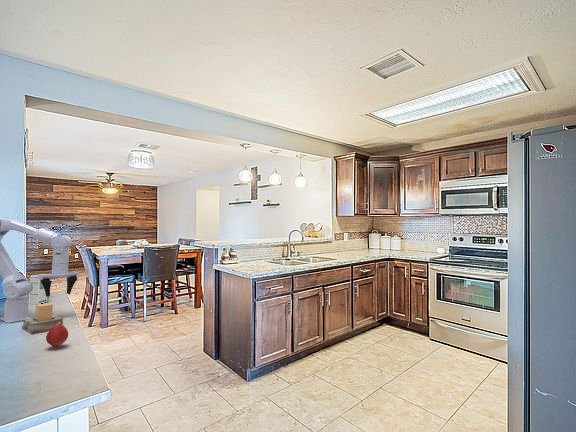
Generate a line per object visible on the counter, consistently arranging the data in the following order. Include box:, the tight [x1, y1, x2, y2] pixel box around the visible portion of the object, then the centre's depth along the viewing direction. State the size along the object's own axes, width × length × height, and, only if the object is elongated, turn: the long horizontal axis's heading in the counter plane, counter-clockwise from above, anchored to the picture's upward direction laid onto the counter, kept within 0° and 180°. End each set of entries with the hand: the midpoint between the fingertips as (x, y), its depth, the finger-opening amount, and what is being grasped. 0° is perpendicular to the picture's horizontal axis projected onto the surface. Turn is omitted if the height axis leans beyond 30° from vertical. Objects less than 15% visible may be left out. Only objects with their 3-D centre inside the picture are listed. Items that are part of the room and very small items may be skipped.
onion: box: [45, 322, 69, 348], centre depth 103 cm, size 6×6×8 cm
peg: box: [34, 302, 54, 322], centre depth 122 cm, size 4×4×8 cm
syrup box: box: [29, 273, 50, 305], centre depth 162 cm, size 6×6×14 cm
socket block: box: [21, 314, 65, 335], centre depth 122 cm, size 11×10×4 cm
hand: (58, 295), depth 136 cm, fingers open, 7 cm apart
